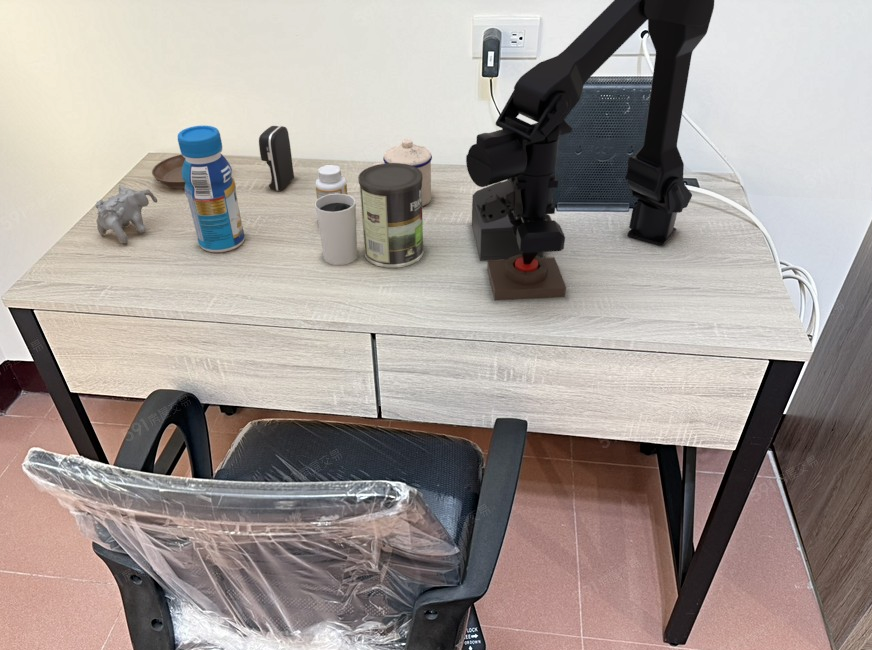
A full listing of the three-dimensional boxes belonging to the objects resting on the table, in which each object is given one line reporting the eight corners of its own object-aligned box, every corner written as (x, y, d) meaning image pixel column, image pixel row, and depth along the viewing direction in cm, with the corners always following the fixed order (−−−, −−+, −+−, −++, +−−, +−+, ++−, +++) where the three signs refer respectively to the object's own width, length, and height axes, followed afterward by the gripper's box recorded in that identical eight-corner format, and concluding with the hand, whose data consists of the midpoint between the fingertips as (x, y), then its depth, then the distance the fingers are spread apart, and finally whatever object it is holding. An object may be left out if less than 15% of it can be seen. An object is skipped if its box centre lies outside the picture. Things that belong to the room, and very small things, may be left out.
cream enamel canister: (434, 189, 140) (433, 131, 133) (430, 211, 133) (429, 151, 126) (374, 188, 142) (370, 131, 134) (367, 209, 135) (363, 150, 127)
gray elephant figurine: (91, 242, 128) (77, 203, 123) (129, 212, 137) (117, 174, 132) (135, 248, 126) (123, 208, 121) (171, 217, 135) (161, 179, 130)
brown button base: (553, 267, 117) (555, 248, 115) (565, 297, 110) (567, 278, 108) (487, 270, 117) (487, 251, 114) (494, 301, 110) (495, 281, 108)
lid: (535, 195, 125) (537, 170, 122) (549, 229, 116) (552, 204, 113) (472, 198, 125) (473, 173, 122) (481, 232, 116) (482, 207, 113)
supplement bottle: (334, 211, 134) (329, 160, 128) (356, 220, 132) (351, 167, 125) (313, 223, 131) (307, 170, 125) (335, 232, 128) (329, 178, 122)
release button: (535, 265, 113) (536, 256, 112) (539, 277, 111) (540, 268, 109) (512, 267, 113) (513, 257, 112) (516, 279, 111) (517, 269, 109)
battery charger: (279, 176, 147) (270, 121, 140) (295, 178, 146) (287, 123, 139) (263, 190, 142) (254, 135, 135) (281, 192, 141) (272, 136, 134)
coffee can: (428, 240, 125) (427, 163, 116) (417, 270, 117) (416, 191, 108) (371, 236, 127) (366, 160, 118) (357, 265, 119) (350, 187, 110)
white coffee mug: (342, 242, 125) (337, 189, 119) (367, 255, 122) (363, 202, 115) (313, 256, 122) (306, 203, 115) (338, 270, 118) (332, 216, 112)
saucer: (142, 179, 149) (138, 166, 147) (204, 157, 156) (201, 145, 154) (177, 201, 140) (173, 188, 138) (240, 177, 148) (238, 165, 146)
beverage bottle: (189, 243, 127) (160, 134, 114) (227, 226, 131) (204, 118, 118) (216, 259, 122) (190, 147, 109) (255, 240, 127) (235, 130, 114)
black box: (529, 222, 129) (532, 195, 125) (542, 258, 119) (545, 229, 116) (471, 225, 129) (472, 198, 125) (479, 261, 119) (481, 233, 116)
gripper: (471, 144, 108) (469, 236, 118) (487, 200, 94) (483, 298, 104) (544, 141, 108) (535, 232, 118) (571, 196, 94) (558, 294, 104)
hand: (526, 262), depth 111 cm, fingers closed, pressing on release button
